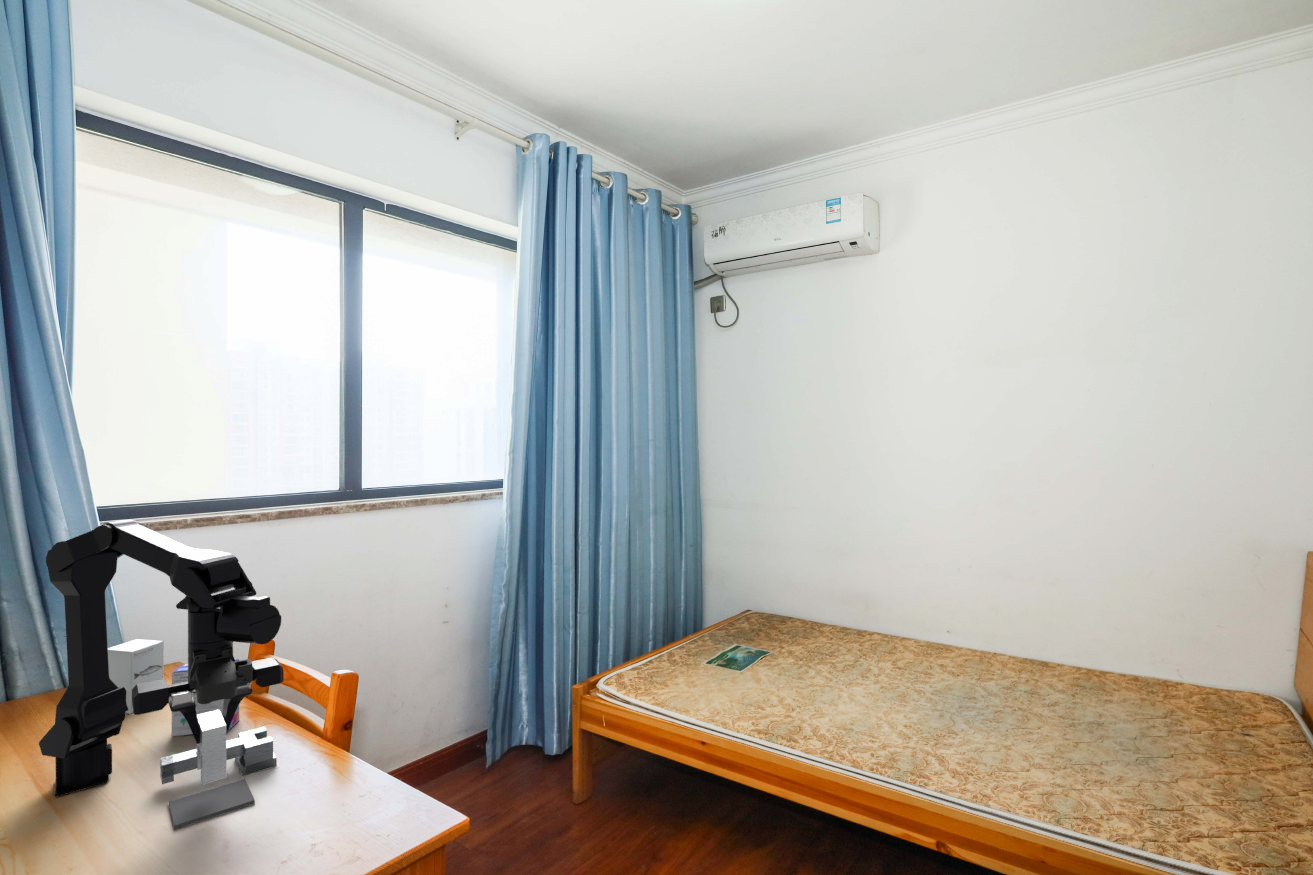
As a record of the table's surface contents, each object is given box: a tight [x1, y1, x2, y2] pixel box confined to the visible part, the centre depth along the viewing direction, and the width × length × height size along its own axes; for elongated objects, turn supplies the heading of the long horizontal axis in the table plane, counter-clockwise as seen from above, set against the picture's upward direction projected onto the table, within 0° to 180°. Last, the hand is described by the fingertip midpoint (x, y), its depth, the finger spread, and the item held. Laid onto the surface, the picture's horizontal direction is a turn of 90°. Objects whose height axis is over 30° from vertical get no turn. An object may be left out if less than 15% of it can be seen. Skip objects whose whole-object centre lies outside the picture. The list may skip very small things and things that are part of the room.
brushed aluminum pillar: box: [195, 710, 228, 786], centre depth 101 cm, size 3×7×8 cm, turn 41°
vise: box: [159, 725, 278, 785], centre depth 110 cm, size 16×7×4 cm, turn 131°
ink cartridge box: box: [170, 658, 240, 737], centre depth 126 cm, size 10×6×14 cm, turn 104°
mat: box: [168, 778, 256, 831], centre depth 101 cm, size 10×8×1 cm
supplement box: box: [108, 638, 165, 715], centre depth 136 cm, size 7×7×13 cm
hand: (211, 739), depth 101 cm, fingers closed on brushed aluminum pillar, 3 cm apart
